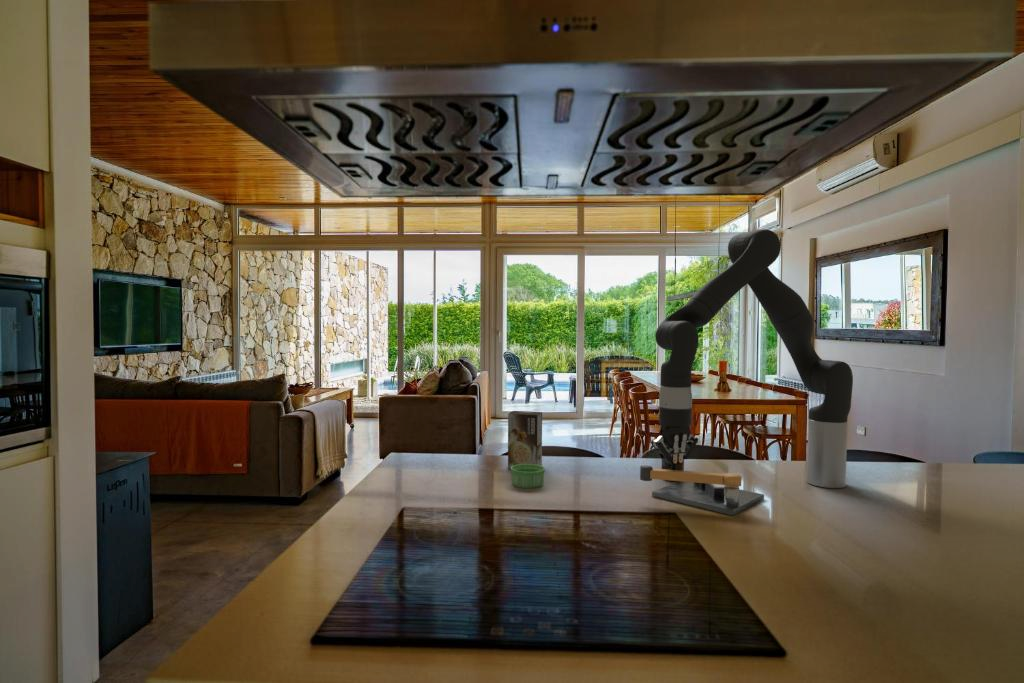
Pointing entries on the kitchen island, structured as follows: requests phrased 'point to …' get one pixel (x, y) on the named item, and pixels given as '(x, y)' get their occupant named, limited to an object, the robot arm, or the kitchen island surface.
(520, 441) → the coffee box
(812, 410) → the robot arm
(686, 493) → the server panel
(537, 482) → the ramekin
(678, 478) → the light wooden bar
